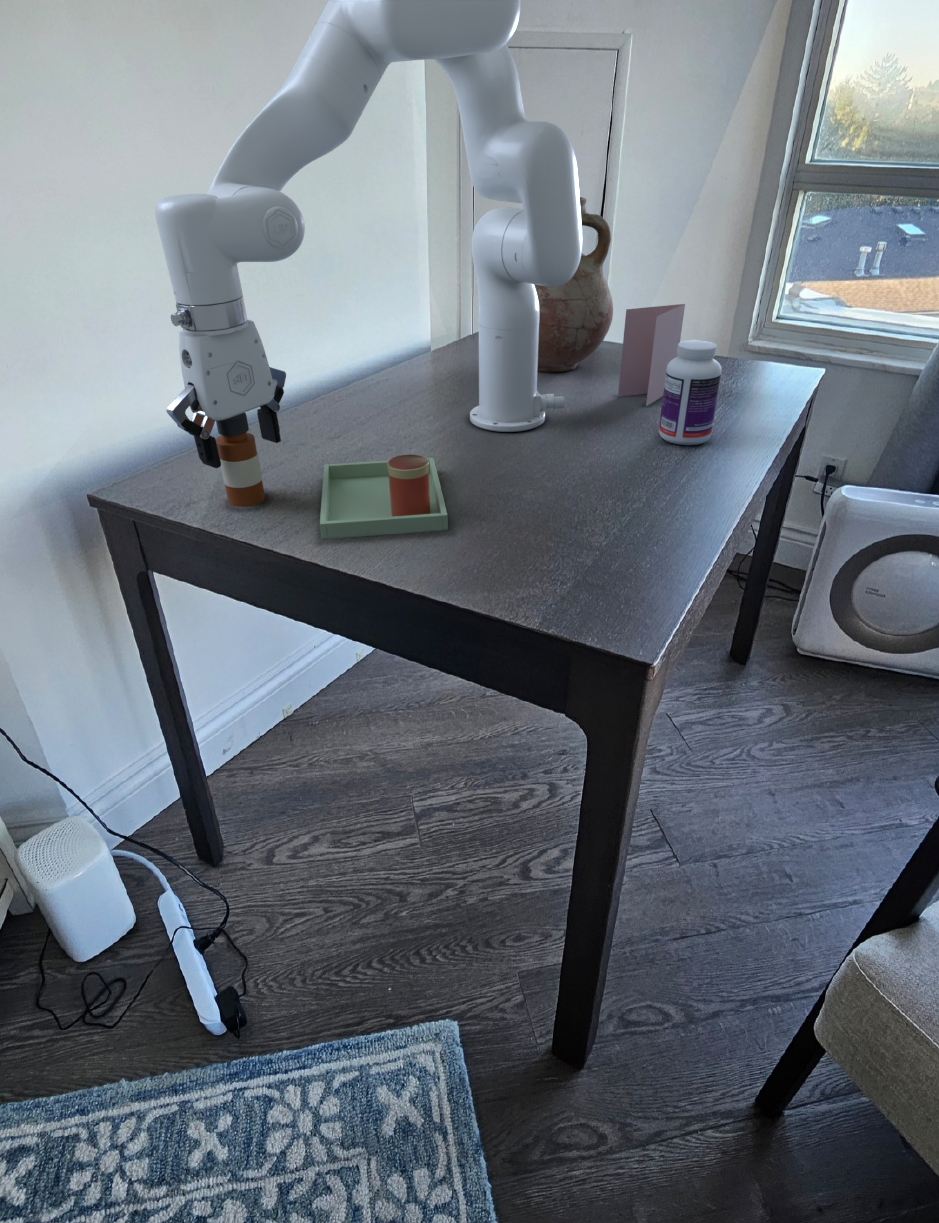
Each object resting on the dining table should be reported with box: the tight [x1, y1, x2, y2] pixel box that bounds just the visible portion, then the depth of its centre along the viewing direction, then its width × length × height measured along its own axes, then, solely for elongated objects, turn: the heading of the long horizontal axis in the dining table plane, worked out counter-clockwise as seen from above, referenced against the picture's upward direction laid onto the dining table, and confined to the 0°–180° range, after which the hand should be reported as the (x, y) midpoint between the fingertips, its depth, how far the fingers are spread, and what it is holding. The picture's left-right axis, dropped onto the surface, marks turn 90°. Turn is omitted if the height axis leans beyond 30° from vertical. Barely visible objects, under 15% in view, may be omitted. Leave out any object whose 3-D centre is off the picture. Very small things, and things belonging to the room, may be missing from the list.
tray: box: [319, 457, 449, 540], centre depth 99 cm, size 15×18×3 cm
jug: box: [534, 196, 614, 373], centre depth 145 cm, size 22×22×30 cm
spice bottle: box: [215, 412, 266, 508], centre depth 98 cm, size 5×5×12 cm
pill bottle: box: [658, 339, 722, 446], centre depth 115 cm, size 8×8×14 cm
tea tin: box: [387, 453, 430, 517], centre depth 95 cm, size 5×5×7 cm
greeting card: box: [617, 303, 686, 407], centre depth 132 cm, size 11×7×15 cm, turn 108°
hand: (242, 452), depth 98 cm, fingers open, 9 cm apart
